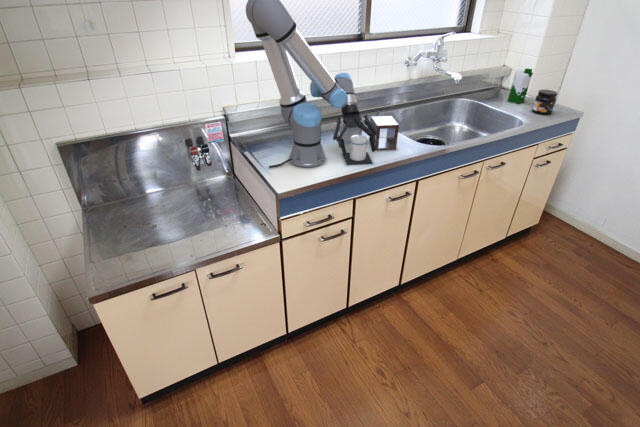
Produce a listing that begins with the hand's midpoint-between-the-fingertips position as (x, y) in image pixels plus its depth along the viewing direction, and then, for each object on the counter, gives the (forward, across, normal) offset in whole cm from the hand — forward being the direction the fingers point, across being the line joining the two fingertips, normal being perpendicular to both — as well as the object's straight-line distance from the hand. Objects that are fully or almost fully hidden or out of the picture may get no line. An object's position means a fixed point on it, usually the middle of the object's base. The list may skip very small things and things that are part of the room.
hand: (359, 152), depth 166 cm
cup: (+1, 0, -4) cm, 4 cm away
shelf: (-7, -17, -12) cm, 22 cm away
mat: (+1, 0, -4) cm, 5 cm away
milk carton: (-35, -127, -40) cm, 138 cm away
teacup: (-13, -3, -19) cm, 23 cm away
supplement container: (-20, -127, -25) cm, 131 cm away
